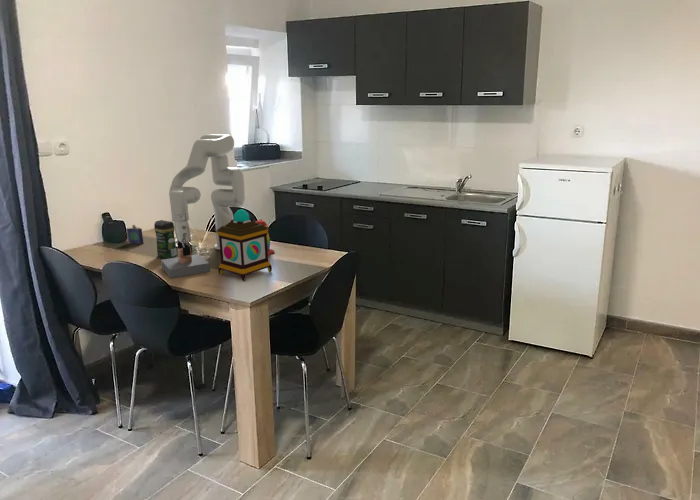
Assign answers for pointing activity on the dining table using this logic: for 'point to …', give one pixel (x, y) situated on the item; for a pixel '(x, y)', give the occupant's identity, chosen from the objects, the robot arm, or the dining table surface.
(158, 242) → the coffee jar
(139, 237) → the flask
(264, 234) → the decorative lantern
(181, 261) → the terracotta block
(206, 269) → the gray square slab
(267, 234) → the stacking bear
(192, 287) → the dining table surface
